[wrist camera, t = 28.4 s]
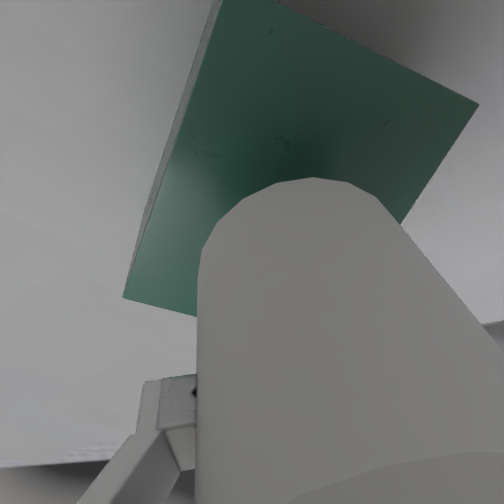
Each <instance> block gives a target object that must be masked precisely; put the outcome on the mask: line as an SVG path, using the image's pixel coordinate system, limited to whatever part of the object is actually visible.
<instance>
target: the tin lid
mask: <svg viewBox="0 0 504 504" xmlns="http://www.w3.org/2000/svg"><path fill="white" fill-rule="evenodd" d="M478 106H479V104H478V103H476V102H474V101H472V100H470V99H468V98H466V97H464V96H462V95H460V94H458V93H456V92H454V91H452V90H450V89H448V88H446V87H444V86H442V85H441V84H439V83H437V82H435V81H433V80H431V79H429V78H427V77H425V76H423V75H421V74H419V73H417V72H415V71H413V70H411V69H409V68H407V67H405V66H403V65H401V64H399V63H397V62H395V61H393V60H391V59H389V58H387V57H385V56H383V55H381V54H379V53H377V52H375V51H373V50H371V49H369V48H367V47H365V46H363V45H361V44H359V43H357V42H355V41H353V40H351V39H349V38H347V37H345V36H343V35H341V34H339V33H337V32H335V31H333V30H331V29H329V28H327V27H325V26H323V25H321V24H319V23H317V22H315V21H314V20H312V19H310V18H308V17H306V16H304V15H302V14H300V13H298V12H296V11H294V10H292V9H290V8H288V7H286V6H284V5H282V4H280V3H278V2H276V1H274V0H222V1H221V4H220V7H219V10H218V13H217V16H216V19H215V22H214V25H213V28H212V31H211V34H210V37H209V40H208V43H207V46H206V49H205V52H204V55H203V58H202V61H201V64H200V67H199V69H198V72H197V75H196V78H195V81H194V84H193V87H192V90H191V93H190V96H189V99H188V102H187V105H186V108H185V111H184V114H183V117H182V120H181V123H180V126H179V129H178V132H177V135H176V138H175V141H174V144H173V147H172V150H171V152H170V155H169V158H168V161H167V164H166V167H165V170H164V173H163V176H162V179H161V182H160V185H159V188H158V191H157V194H156V197H155V200H154V203H153V206H152V209H151V212H150V215H149V218H148V221H147V224H146V227H145V230H144V233H143V236H142V238H141V241H140V244H139V247H138V250H137V253H136V256H135V259H134V262H133V265H132V268H131V271H130V274H129V277H128V280H127V283H126V286H125V289H124V293H123V298H125V299H129V300H133V301H137V302H141V303H145V304H149V305H152V306H156V307H160V308H164V309H168V310H172V311H176V312H180V313H184V314H188V315H192V316H196V317H197V288H198V272H199V265H200V259H201V252H202V249H203V247H204V245H205V243H206V241H207V240H208V238H209V236H210V234H211V233H212V231H213V229H214V227H215V225H216V224H217V222H218V221H219V220H220V219H221V218H222V217H224V216H225V215H226V214H227V213H228V212H229V211H230V210H231V209H232V208H233V207H235V206H236V205H237V204H238V203H239V202H240V201H241V200H242V199H244V198H246V197H248V196H250V195H252V194H254V193H256V192H258V191H261V190H263V189H265V188H267V187H269V186H271V185H273V184H275V183H280V182H286V181H292V180H299V179H305V178H311V177H315V178H321V179H328V180H335V181H342V182H348V183H350V184H352V185H354V186H356V187H358V188H359V189H361V190H363V191H365V192H367V193H369V194H371V195H373V196H375V197H376V198H377V199H378V200H379V201H380V202H381V203H382V205H383V206H384V207H385V208H386V209H387V210H388V212H389V213H390V214H391V215H392V216H393V217H394V219H395V220H396V221H397V222H398V223H399V225H400V224H401V222H402V221H403V219H404V218H405V216H406V215H407V213H408V212H409V210H410V209H411V207H412V206H413V204H414V203H415V201H416V200H417V198H418V197H419V195H420V194H421V192H422V191H423V189H424V188H425V186H426V185H427V183H428V182H429V180H430V179H431V177H432V176H433V174H434V173H435V171H436V170H437V168H438V167H439V165H440V164H441V162H442V160H443V159H444V157H445V156H446V154H447V153H448V151H449V150H450V148H451V147H452V145H453V144H454V142H455V141H456V139H457V138H458V136H459V135H460V133H461V132H462V130H463V129H464V127H465V126H466V124H467V123H468V121H469V120H470V118H471V117H472V115H473V114H474V112H475V111H476V109H477V108H478Z"/></svg>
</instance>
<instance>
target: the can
mask: <svg viewBox="0 0 504 504" xmlns="http://www.w3.org/2000/svg"><path fill="white" fill-rule="evenodd" d="M196 374H197V391H196V399H197V424H196V436H195V504H504V352H503V351H502V349H501V348H500V347H499V346H498V345H497V343H496V342H495V341H494V340H493V338H492V337H491V336H490V335H489V334H488V332H487V331H486V330H485V329H484V327H483V326H482V325H481V324H480V323H479V321H478V320H477V319H476V318H475V316H474V315H473V314H472V313H471V312H470V310H469V309H468V308H467V307H466V305H465V304H464V303H463V302H462V301H461V299H460V298H459V297H458V296H457V294H456V293H455V292H454V291H453V289H452V288H451V287H450V286H449V285H448V283H447V282H446V281H445V280H444V278H443V277H442V276H441V275H440V274H439V272H438V271H437V270H436V269H435V267H434V266H433V265H432V264H431V263H430V261H429V260H428V259H427V258H426V256H425V255H424V254H423V253H422V252H421V250H420V249H419V248H418V247H417V245H416V244H415V243H414V242H413V241H412V239H411V238H410V237H409V236H408V234H407V233H406V232H405V231H404V230H403V228H402V227H401V226H400V225H399V223H398V222H397V221H396V220H395V219H394V217H393V216H392V215H391V214H390V213H389V212H388V210H387V209H386V208H385V207H384V206H383V205H382V203H381V202H380V201H379V200H378V199H377V198H376V197H375V196H373V195H371V194H369V193H367V192H365V191H363V190H361V189H359V188H358V187H356V186H354V185H352V184H350V183H348V182H342V181H335V180H328V179H321V178H315V177H311V178H305V179H299V180H292V181H286V182H280V183H275V184H273V185H271V186H269V187H267V188H265V189H263V190H261V191H258V192H256V193H254V194H252V195H250V196H248V197H246V198H244V199H242V200H241V201H240V202H239V203H238V204H237V205H236V206H235V207H233V208H232V209H231V210H230V211H229V212H228V213H227V214H226V215H225V216H224V217H222V218H221V219H220V220H219V221H218V222H217V224H216V225H215V227H214V229H213V231H212V233H211V234H210V236H209V238H208V240H207V241H206V243H205V245H204V247H203V249H202V252H201V259H200V265H199V272H198V288H197V362H196Z"/></svg>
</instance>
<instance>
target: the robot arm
mask: <svg viewBox="0 0 504 504" xmlns="http://www.w3.org/2000/svg"><path fill="white" fill-rule="evenodd" d="M481 325H482V326H483V327H484V329H485V330H486V331H487V332H488V334H489V335H490V336H491V337H492V338H493V340H494V341H495V342H496V343H497V345H498V346H499V347H500V348H501V349H502V351H503V352H504V320H503V321H497V322H491V323H486V324H481ZM196 391H197V374H190V375H183V376H176V377H169V378H163V379H158V380H151V381H145V383H144V385H143V387H142V394H141V400H140V407H139V414H138V420H137V427H136V434H134V435H130V436H129V437H128V438H127V440H126V441H125V442H124V443H123V445H122V446H121V447H120V449H119V450H118V451H117V452H116V454H115V455H114V456H113V457H112V459H111V460H110V461H109V462H108V464H107V465H106V466H105V468H104V469H103V470H102V471H101V473H100V474H99V475H98V476H97V478H96V479H95V480H94V481H93V483H92V484H91V485H90V487H89V488H88V489H87V490H86V492H85V493H84V494H83V495H82V497H81V498H80V499H79V500H78V502H77V503H76V504H164V502H165V501H166V498H167V497H168V495H169V493H170V491H171V489H172V487H173V486H174V484H175V482H176V480H177V478H178V476H179V474H180V473H179V472H180V471H185V470H190V469H195V436H196V424H197V399H196Z"/></svg>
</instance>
